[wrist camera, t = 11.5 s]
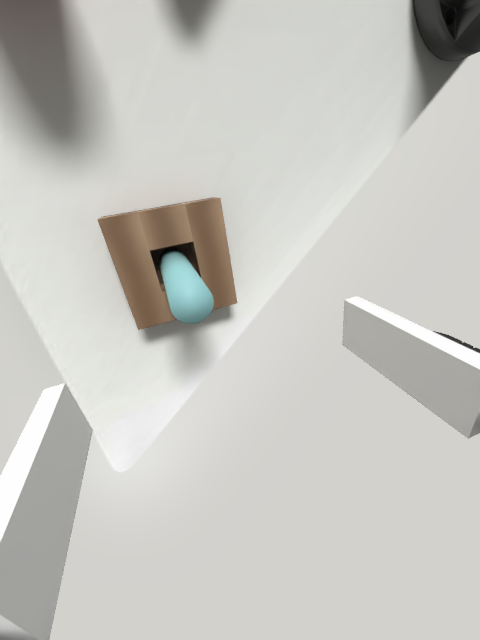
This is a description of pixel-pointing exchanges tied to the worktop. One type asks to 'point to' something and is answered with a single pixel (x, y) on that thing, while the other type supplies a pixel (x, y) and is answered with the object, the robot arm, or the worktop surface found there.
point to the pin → (184, 288)
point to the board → (163, 233)
